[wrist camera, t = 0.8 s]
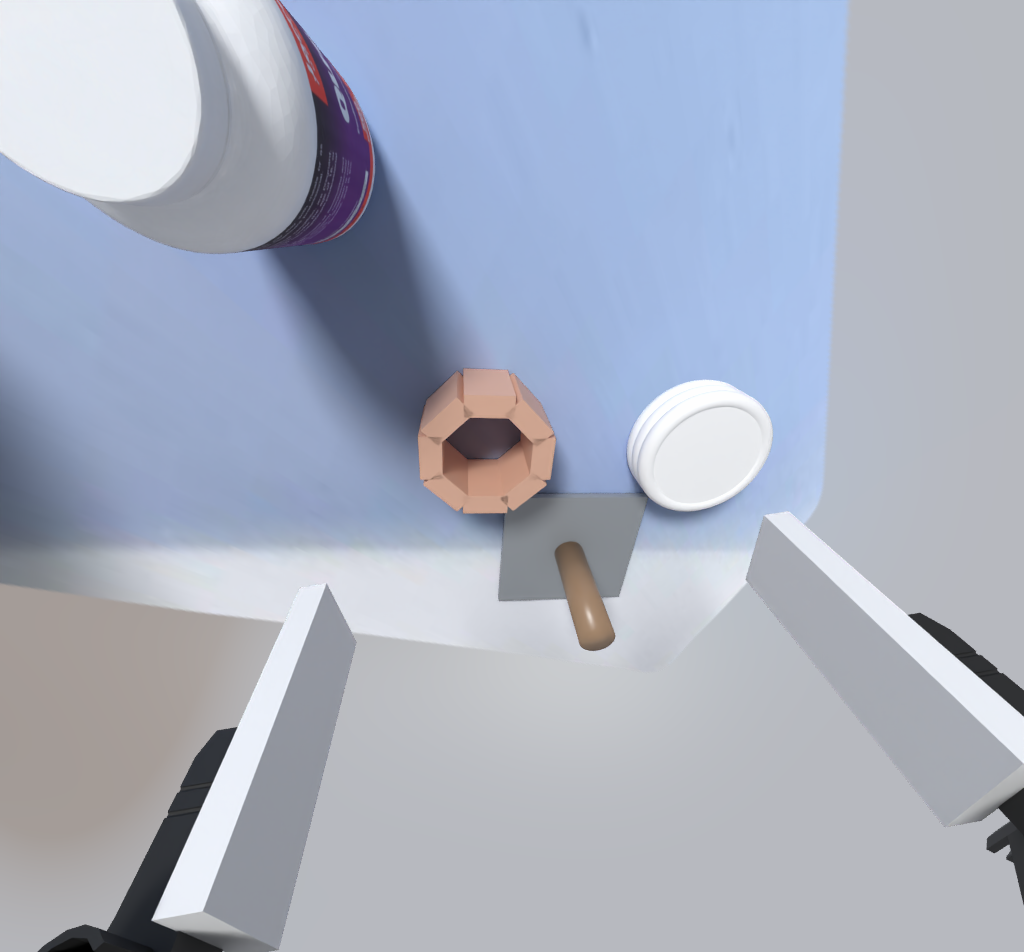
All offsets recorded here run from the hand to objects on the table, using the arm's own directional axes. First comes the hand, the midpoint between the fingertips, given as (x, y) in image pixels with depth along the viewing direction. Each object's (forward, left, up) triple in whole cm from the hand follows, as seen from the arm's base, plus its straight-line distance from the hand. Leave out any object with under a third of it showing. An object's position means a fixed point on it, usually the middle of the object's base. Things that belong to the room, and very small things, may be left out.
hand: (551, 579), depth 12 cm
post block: (+7, -15, -18) cm, 25 cm away
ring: (-1, -3, -18) cm, 19 cm away
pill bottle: (-11, +12, -19) cm, 25 cm away
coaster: (+15, -4, -19) cm, 25 cm away
